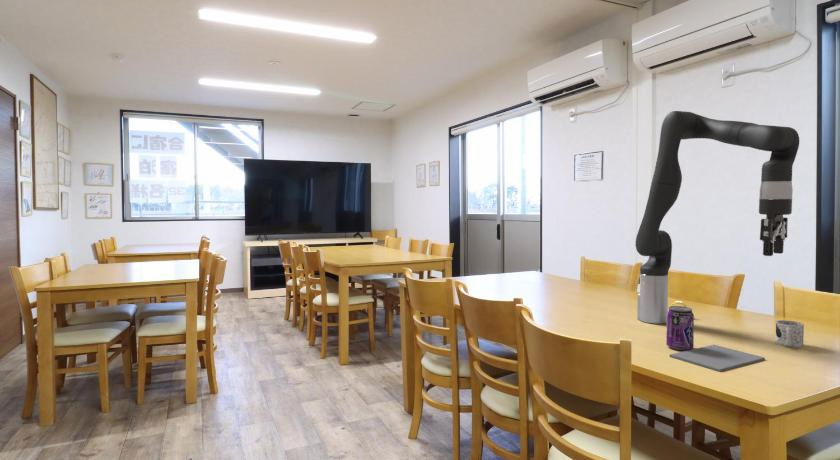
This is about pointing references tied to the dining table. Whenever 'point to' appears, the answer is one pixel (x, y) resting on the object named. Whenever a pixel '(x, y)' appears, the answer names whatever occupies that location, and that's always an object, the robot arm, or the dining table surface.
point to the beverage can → (680, 328)
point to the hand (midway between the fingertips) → (773, 254)
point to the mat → (717, 357)
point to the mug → (789, 333)
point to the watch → (679, 303)
